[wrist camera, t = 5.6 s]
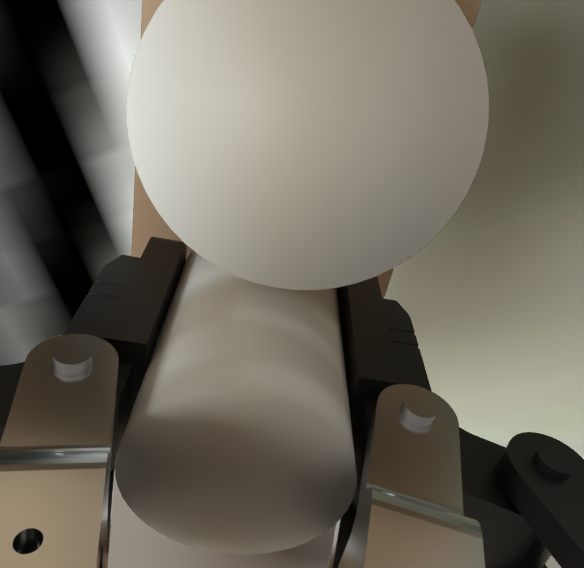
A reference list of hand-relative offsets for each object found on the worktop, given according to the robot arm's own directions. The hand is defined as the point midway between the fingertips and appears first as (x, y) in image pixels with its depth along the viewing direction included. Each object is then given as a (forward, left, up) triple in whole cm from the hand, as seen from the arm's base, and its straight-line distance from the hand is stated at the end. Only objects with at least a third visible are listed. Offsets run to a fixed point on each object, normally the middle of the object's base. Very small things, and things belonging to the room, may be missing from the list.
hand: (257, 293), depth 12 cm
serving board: (0, +1, -2) cm, 2 cm away
